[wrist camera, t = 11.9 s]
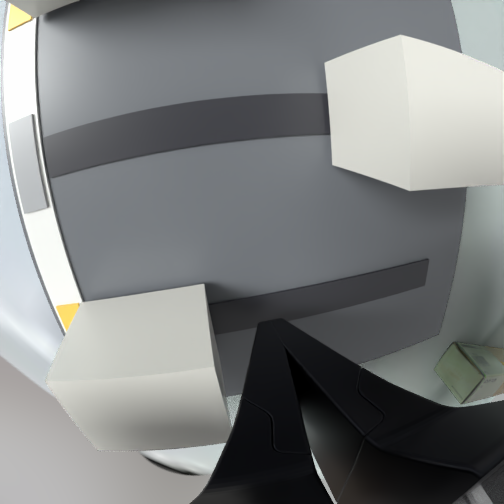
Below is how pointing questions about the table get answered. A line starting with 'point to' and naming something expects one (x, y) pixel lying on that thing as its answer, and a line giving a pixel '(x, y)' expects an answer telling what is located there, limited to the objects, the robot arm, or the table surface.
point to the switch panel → (221, 169)
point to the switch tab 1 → (39, 5)
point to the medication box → (472, 371)
